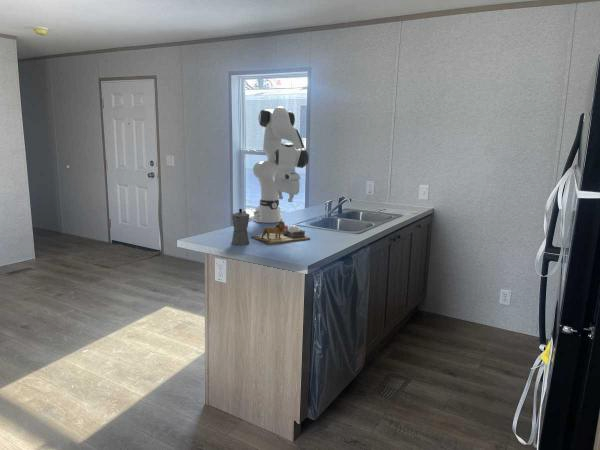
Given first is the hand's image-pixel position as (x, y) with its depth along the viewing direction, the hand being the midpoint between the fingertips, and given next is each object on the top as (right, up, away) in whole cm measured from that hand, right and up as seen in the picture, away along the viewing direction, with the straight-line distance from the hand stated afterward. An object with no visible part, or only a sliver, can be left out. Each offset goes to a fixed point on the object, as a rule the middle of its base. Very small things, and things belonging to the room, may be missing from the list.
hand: (285, 200), depth 234 cm
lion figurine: (-6, -20, +1) cm, 21 cm away
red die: (-2, -17, +21) cm, 28 cm away
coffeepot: (-23, -22, -5) cm, 32 cm away
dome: (+4, -18, +10) cm, 21 cm away
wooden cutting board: (-3, -20, +7) cm, 22 cm away
